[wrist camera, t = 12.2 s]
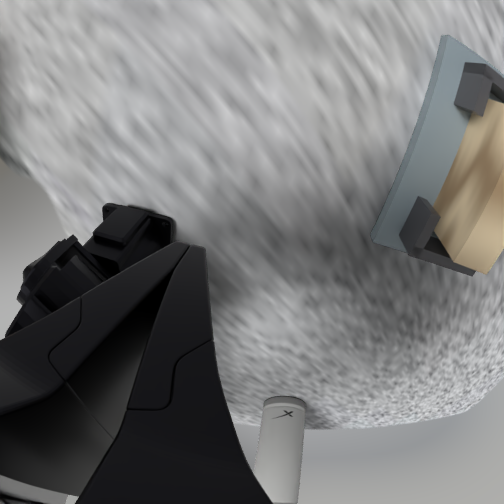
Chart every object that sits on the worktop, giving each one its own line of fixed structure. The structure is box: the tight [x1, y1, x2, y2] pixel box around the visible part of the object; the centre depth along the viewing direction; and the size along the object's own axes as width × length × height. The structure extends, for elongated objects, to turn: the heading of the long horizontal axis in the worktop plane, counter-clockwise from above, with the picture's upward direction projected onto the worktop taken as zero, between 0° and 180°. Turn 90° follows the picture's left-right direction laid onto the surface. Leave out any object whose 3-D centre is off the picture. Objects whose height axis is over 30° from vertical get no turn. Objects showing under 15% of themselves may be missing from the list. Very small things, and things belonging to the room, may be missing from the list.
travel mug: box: [254, 396, 306, 504], centre depth 30 cm, size 6×7×20 cm
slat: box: [433, 99, 504, 275], centre depth 12 cm, size 10×4×5 cm, turn 168°
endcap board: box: [370, 35, 504, 276], centre depth 14 cm, size 16×10×4 cm, turn 168°
